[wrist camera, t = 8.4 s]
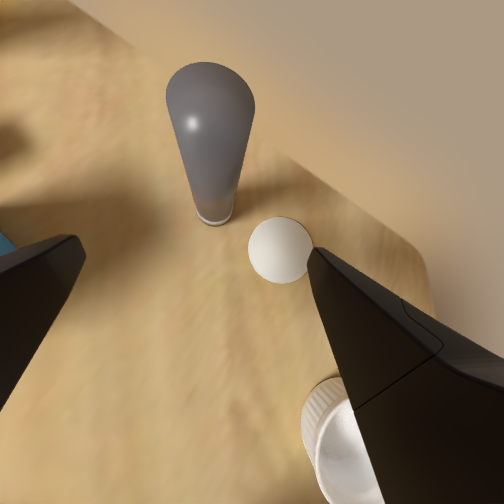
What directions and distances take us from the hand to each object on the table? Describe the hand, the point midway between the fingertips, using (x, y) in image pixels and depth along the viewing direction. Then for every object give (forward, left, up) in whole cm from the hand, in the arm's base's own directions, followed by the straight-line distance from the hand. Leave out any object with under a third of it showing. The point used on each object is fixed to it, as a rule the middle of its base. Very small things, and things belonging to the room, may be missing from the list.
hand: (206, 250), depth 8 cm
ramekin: (-18, +7, -12) cm, 23 cm away
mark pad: (-5, -5, -12) cm, 14 cm away
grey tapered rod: (+3, -5, -12) cm, 13 cm away
